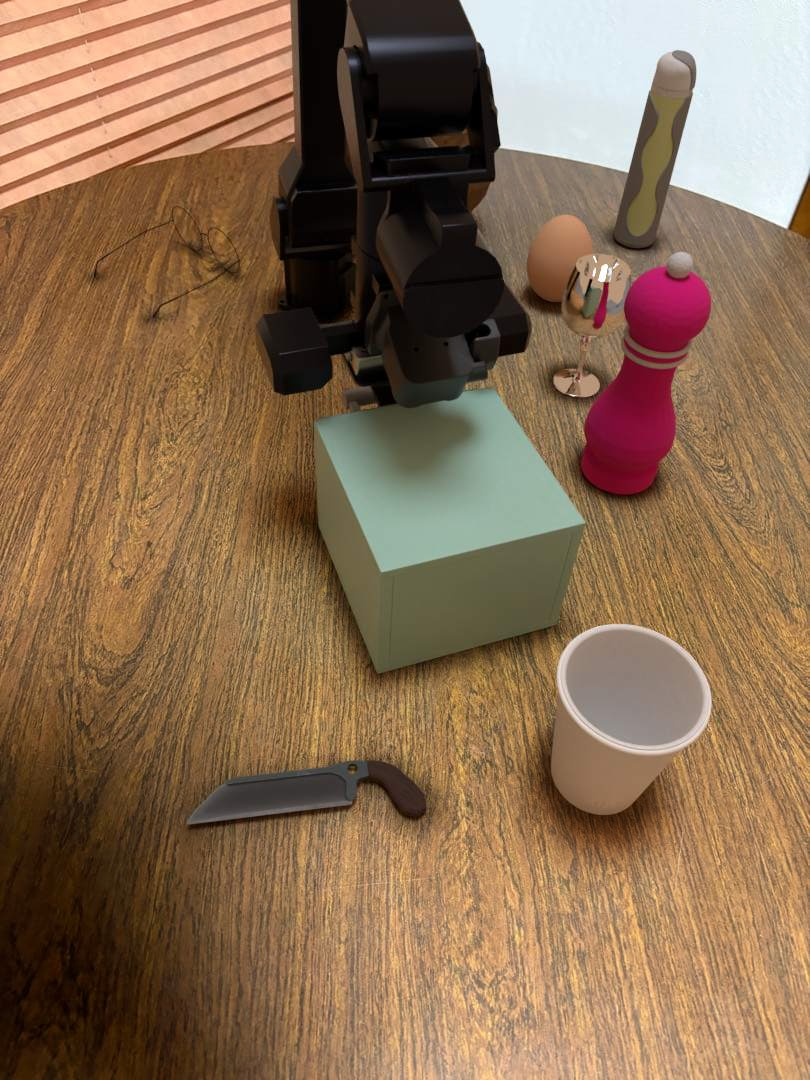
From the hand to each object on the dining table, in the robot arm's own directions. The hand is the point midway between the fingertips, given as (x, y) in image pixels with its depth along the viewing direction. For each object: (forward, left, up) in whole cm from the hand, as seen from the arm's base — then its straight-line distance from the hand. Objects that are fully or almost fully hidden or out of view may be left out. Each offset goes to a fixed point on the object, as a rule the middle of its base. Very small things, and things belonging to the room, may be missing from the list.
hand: (389, 422), depth 66 cm
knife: (+9, -27, -6) cm, 29 cm away
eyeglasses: (-34, +17, -6) cm, 39 cm away
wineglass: (+10, +21, -6) cm, 24 cm away
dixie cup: (+24, -17, -6) cm, 30 cm away
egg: (+3, +34, -6) cm, 34 cm away
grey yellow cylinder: (+7, +51, -6) cm, 52 cm away
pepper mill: (+17, +11, -6) cm, 21 cm away
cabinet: (+8, -7, -6) cm, 12 cm away
